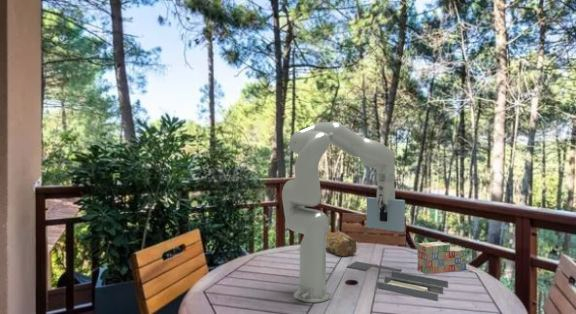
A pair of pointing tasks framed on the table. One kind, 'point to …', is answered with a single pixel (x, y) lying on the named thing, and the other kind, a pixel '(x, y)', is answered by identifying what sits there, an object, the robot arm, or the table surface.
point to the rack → (417, 279)
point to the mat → (369, 266)
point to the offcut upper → (408, 286)
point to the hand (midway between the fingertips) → (385, 220)
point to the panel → (393, 215)
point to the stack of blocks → (440, 258)
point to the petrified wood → (340, 244)
